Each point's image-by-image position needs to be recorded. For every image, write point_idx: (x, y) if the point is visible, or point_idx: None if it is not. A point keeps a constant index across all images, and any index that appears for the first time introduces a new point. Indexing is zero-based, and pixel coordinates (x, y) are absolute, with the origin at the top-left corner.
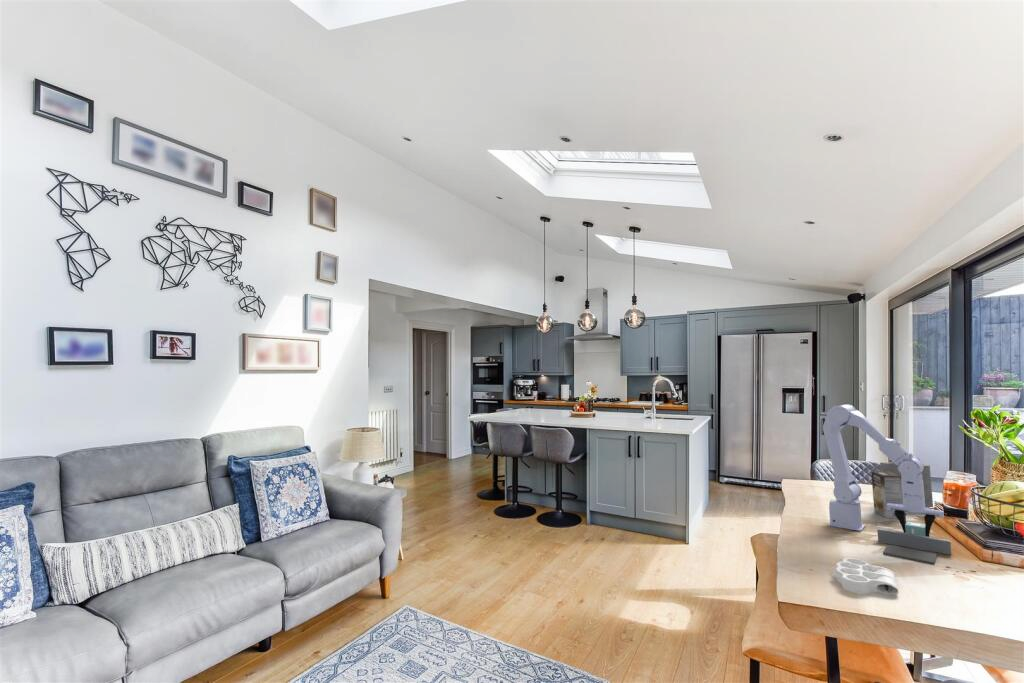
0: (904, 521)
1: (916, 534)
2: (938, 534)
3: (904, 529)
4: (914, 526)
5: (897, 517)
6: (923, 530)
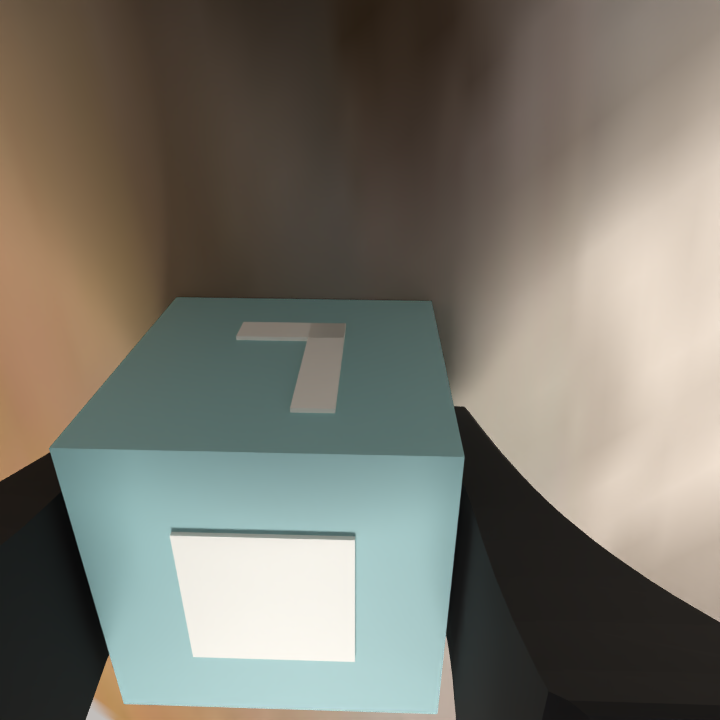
0: (486, 563)
1: (268, 359)
2: (170, 715)
3: (469, 442)
4: (262, 455)
5: (708, 619)
6: (105, 409)
